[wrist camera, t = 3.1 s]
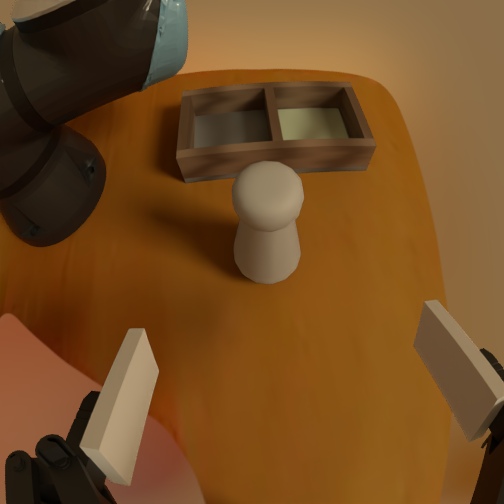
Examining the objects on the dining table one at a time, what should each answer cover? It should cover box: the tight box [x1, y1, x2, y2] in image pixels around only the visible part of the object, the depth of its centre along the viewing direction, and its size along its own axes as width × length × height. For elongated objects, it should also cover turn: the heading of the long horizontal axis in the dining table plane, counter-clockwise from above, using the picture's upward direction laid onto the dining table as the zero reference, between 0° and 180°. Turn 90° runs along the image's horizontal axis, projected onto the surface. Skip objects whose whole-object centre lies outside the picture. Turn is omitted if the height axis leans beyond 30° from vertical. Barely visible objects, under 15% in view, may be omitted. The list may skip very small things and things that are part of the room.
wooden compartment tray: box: [176, 81, 376, 183], centre depth 33 cm, size 20×10×4 cm, turn 94°
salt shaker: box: [232, 161, 304, 284], centre depth 24 cm, size 6×6×13 cm
